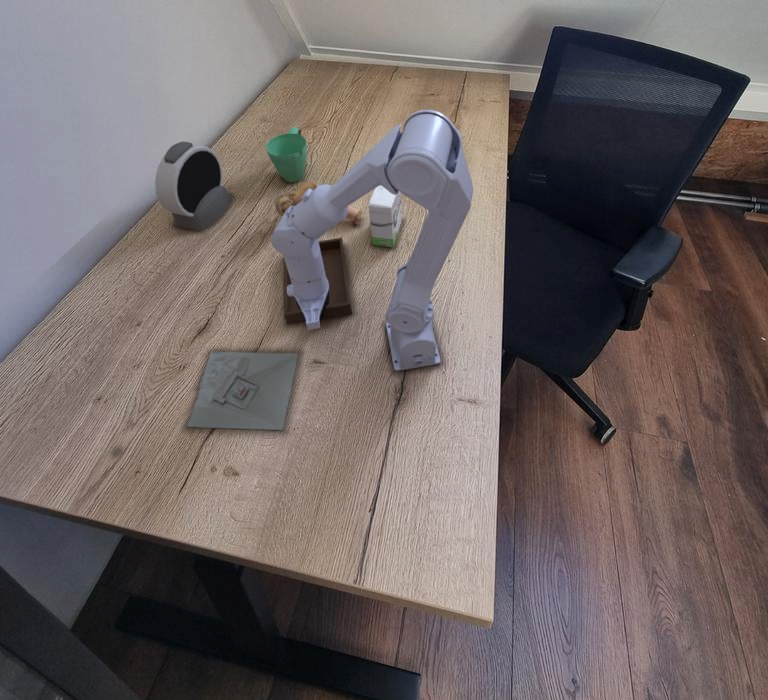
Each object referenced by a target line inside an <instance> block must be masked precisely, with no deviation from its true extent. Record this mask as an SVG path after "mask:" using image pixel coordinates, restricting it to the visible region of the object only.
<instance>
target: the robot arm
mask: <svg viewBox="0 0 768 700" xmlns="http://www.w3.org/2000/svg"><path fill="white" fill-rule="evenodd" d="M401 126H402V123H399V124H397V125H396V126H394V127H392V128H391V130H389V132H387V133H386V134H385V135H384V136H383V137H382V138H381V139H380V140H379V141H378V142H377V143H376V144H375V145H374V146H372V148H370V149H369V151H367V152H366V153H365V155H364V156H362V157H361V158H360V159H359V160H358V161H357V162H356V163H355V164H353V165H352V167H351V168H349V170H347V171H346V172H345V173H344V174H343V175H342V176H341V177H340V178H339V179H338V180H337V181H336V182H335V183H334V184H333V185H332V184H328V183H327V184H326V183H325V184H320V185H318V186H317V188H316V189H314V190H312V189H310V188H309V189H308V190H306V191H305V193H304V194H303V196H302V198H301V199H302V201H301V202H299V203H298V204H297V205H296V206H290V207H289V208H288V209H287V210H286V211H285V213H284V214H283V216H282V217H281V218H280V219H279V221H278V223H277V225H276V227H275V228H274V230H273V231H272V234H271V236H270V243H271V245H272V247H273V249H274V250H276V251H277V252H278V253H280V254H281V255H282V257H283V260H284V259H285V262H286V266H287V269H288V272H289V276H290V279H291V282H292V284H291V285H288V286H287V294H288V296H290V297H291V296H294V297H295V298H296V303H297V306H298V308H299V309H301V310H302V312H303V314H304V316H305V318H306V321H305V324H306V329H307V330H308V331H310V330H317V329H320V328H321V322H320V320H321V319H325V318H324V316H325V308H326V306H327V305H328V304H329V300H330V299H329V283H328V280H327V278H326V274H325V270H324V265H323V260H322V256H321V251H320V246H319V241H320V240H319V239H320V237H322V236H323V235H325V234H326V233H328V232H329V231H330V230H332V229H333V228H334V227H336V226H337V225H339V223H342V221H344V220H345V219H347V218H346V216H347V214H348V206H350V205H351V204H353V203H355V202H357V201H358V200H359V199H361V198H363V197H365V195H367V194H369V193H370V192H371V191H372V192H373V191H374V189H375V188H376V187H378V186H380V185H381V186H383V187H384V188H385V189H386V190H388V191H389V192H390V193H392V194H393V195H397V194H398V191H400V192H401V195H404V196H405V197H407V198H408V199H410V200H412V201H413V202H414V203H416V204H418V205H419V206H420V207H422V208H424V209H425V210H427V213H426V216H425V218H424V221H423V223H422V226H421V229H420V231H419V233H418V237H417V238H416V239H417V240H416V241H415V245H414V247H413V250H412V253H411V255H410V257H408V260H407V262H406V263H405V264H403V265H402V266H400V267H399V269H398V271H397V272H396V281H395V283H394V287H393V291H392V294H391V298H390V300H389V304H388V309H386V312H385V321H386V323H385V326H386V333H387V337H388V344H389V348H390V349H389V350H390V353H391V360H392V365H393V369H394V371H395V372H398V371H399V372H400V371H405V370H411V369H416V368H423V367H428V366H435V365H439V364H440V363H441V357H440V353H439V349H438V346H437V342H436V338H435V333H434V330H433V322H434V305H433V301H432V299H431V297H432V293H433V288H434V285H435V284H436V282H437V279H438V277H439V276H440V273H441V271H442V269H443V267H444V265H445V262H446V261H447V258H448V256H449V254H450V252H451V250H452V248H453V245H454V243H455V242H456V239H457V237H458V235H459V233H460V231H461V229H462V227H463V225H464V223H465V220H466V218H467V216H468V214H469V212H470V210H471V206H472V201H473V193H474V185H473V182H472V178H471V174H470V171H469V167H468V164H467V160H466V157H465V152H464V146H463V136H462V133H461V132H460V130H459V129H458V128H457V127H456V126H455V125H454V123H453V122H452V121H451V119H449V118H448V117H447V116H446V115H445V114H443V113H442V112H440V111H438V110H435V109H421V110H417V111H415V112H413V113H411V114H410V115H409V116H407V119H406V120H405V122H404V124H403V129H402V131H401Z"/></svg>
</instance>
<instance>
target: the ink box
mask: <svg viewBox="0 0 768 700" xmlns="http://www.w3.org/2000/svg"><path fill="white" fill-rule="evenodd" d="M368 215H369V223H370V232H371V243H372V245H374V246H379V247H387V248H394V247H395V243H396V241H397V237H398V233H399V230H400V227H401V223H402V220H403V219H402V218H403V217H402V215H403V213H402V193H401V192H400V191H398V194H397V195H393V194H392V193H390V192H389V191H388V190H386V189H385V188H384V187H383V186H381V185H380V186H378V187H376V188H375V189H373V191H372V194H371V197H370V199H369V201H368Z"/></svg>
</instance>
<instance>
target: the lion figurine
mask: <svg viewBox="0 0 768 700" xmlns="http://www.w3.org/2000/svg"><path fill="white" fill-rule="evenodd" d="M317 187H318V186H317V184H315V183H314V182H304V183H302V184H301V185H300V186H299V187H298V189H296V191H295V192H293V193H287V194H284V195H281V196H280V197H279V198H277V200H276V201H275V204H274V207H275V211H276V212H277V214H278V215H279V217H281V218H282V216H283V214H284V213H285V211H286V210H287V209H288V208H289V207H290V206H296V205H297V204H298V203H299V202H301V201H302V199H301V198H302V196H303V194H304V193H305V191H306V190H308V189H309V188H310V189H312V190H314V189H316V188H317Z"/></svg>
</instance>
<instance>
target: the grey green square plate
mask: <svg viewBox="0 0 768 700" xmlns="http://www.w3.org/2000/svg"><path fill="white" fill-rule="evenodd" d="M298 357H299V353H291V352H290V353H289V352H288V353H287V352H286V353H285V352H244V351H243V352H238V351H237V352H235V351H211V352H210V354H209V357H208V359H207V361H206V365H205V367H204V371H203V374H202V376H201V379H200V381H199V385H198V389H199V391H198V394H197V398H196V400H195V403H194V406H193V408H192V412H191V413H190V417H189V420H188V423H187V428H204V429H205V428H206V429H207V428H209V429H235V430H236V429H237V430H238V429H241V430H270V431H274V430H275V431H284V428H285V423H286V417H287V412H288V407H289V401H290V397H291V392H292V388H293V382H294V377H295V372H296V368H297V362H298Z"/></svg>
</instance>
